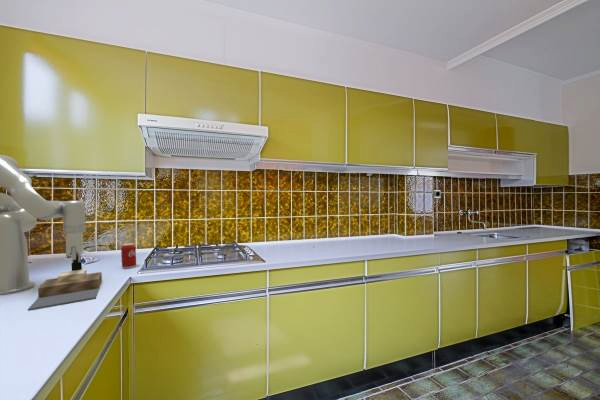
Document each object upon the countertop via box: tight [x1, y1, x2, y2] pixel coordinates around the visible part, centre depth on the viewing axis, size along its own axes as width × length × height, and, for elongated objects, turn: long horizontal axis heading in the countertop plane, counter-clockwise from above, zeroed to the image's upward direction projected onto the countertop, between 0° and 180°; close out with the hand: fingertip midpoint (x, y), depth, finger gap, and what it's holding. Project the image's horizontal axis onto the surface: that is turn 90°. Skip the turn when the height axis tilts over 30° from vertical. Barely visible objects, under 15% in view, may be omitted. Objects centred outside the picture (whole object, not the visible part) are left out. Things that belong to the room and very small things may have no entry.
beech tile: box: [57, 268, 88, 283], centre depth 113 cm, size 8×7×2 cm
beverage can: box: [120, 242, 137, 269], centre depth 144 cm, size 6×6×12 cm
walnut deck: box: [37, 271, 103, 298], centre depth 112 cm, size 18×12×4 cm, turn 121°
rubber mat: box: [27, 288, 100, 312], centre depth 102 cm, size 18×11×1 cm, turn 121°
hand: (77, 271), depth 121 cm, fingers closed
